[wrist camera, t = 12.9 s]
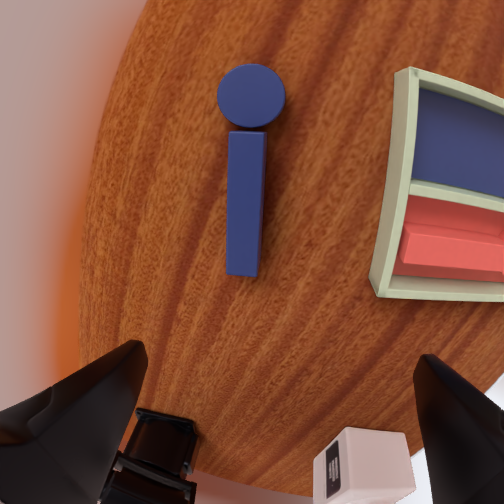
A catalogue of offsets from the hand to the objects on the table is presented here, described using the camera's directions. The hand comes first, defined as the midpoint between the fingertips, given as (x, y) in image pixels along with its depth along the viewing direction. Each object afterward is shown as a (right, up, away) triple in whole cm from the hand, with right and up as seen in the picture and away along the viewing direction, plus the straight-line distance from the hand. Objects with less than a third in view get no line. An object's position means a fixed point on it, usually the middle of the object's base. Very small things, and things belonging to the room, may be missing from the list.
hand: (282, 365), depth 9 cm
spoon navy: (-1, +9, +8) cm, 12 cm away
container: (+11, -18, +18) cm, 28 cm away
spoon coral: (+14, +4, +8) cm, 16 cm away
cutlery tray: (+17, +7, +7) cm, 19 cm away
